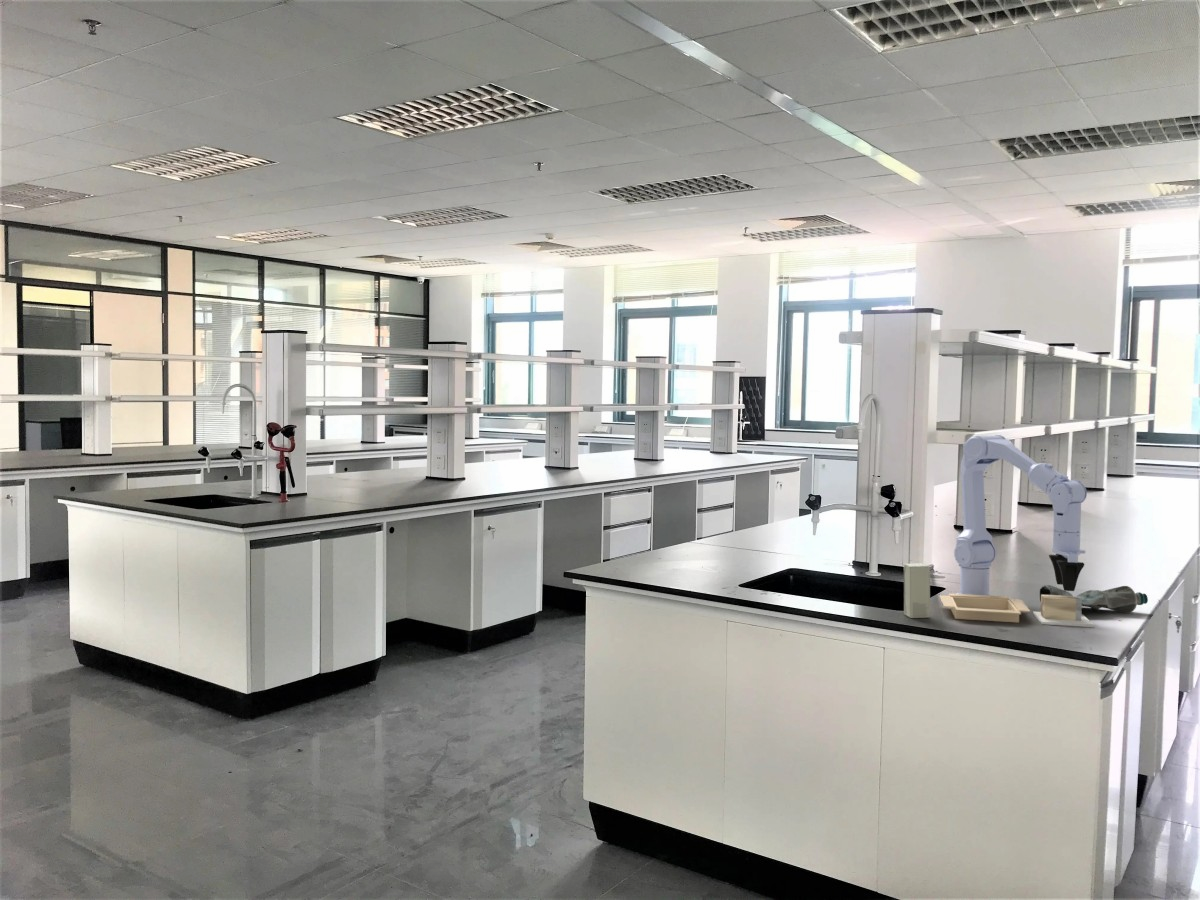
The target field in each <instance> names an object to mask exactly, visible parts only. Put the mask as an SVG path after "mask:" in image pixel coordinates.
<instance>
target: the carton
mask: <svg viewBox="0 0 1200 900" xmlns="http://www.w3.org/2000/svg"><path fill="white" fill-rule="evenodd" d="M939 598H940V600H941V603H942V605H943V608H946V609H947V608H948V609H949V608H950V610H951V613H952V615H953V617H954V619H955V620H956V619H957V620H971V621H987V622H1006V623H1020V615H1022V612H1023V613H1031V610H1030V609H1029V608H1028V606H1027V605H1026V604H1025V603H1024V601H1023V599H1016V598H1010V597H1009V596H1005V595H1003V596H1002V595H989V596H988V595H969V594H956V593H948V595H939Z"/></svg>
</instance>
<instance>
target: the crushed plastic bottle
mask: <svg viewBox="0 0 1200 900" xmlns="http://www.w3.org/2000/svg"><path fill="white" fill-rule="evenodd" d="M1041 595H1060V596H1074V595H1073V594H1072V593H1071V592H1070V591H1064V589H1061V588H1059V587H1057V586H1054V585H1051V584H1045V585H1043V586H1042V587H1040V589H1039V600H1040V602H1041ZM1076 596H1078V597H1079V598H1080V599H1081V600H1082V607H1085V608H1090V609H1092V610H1099V609H1102V608H1103V609H1108V610H1110V611H1114V612H1119V613H1125V614H1126V613H1127V614H1129V613H1132V612H1134V610H1135V609H1136V608H1137V606H1143V605H1144V604H1148V601H1149V599H1148V595H1147V594H1146V593H1142V592H1141V591H1139V592H1135V590H1134V589H1133V588H1131V587H1130V586H1129V585H1122V586H1118V587H1114V588H1110V589H1105V590H1098V589H1091V590H1086V591H1084V592H1081V593H1079V594H1077V595H1076Z"/></svg>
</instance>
